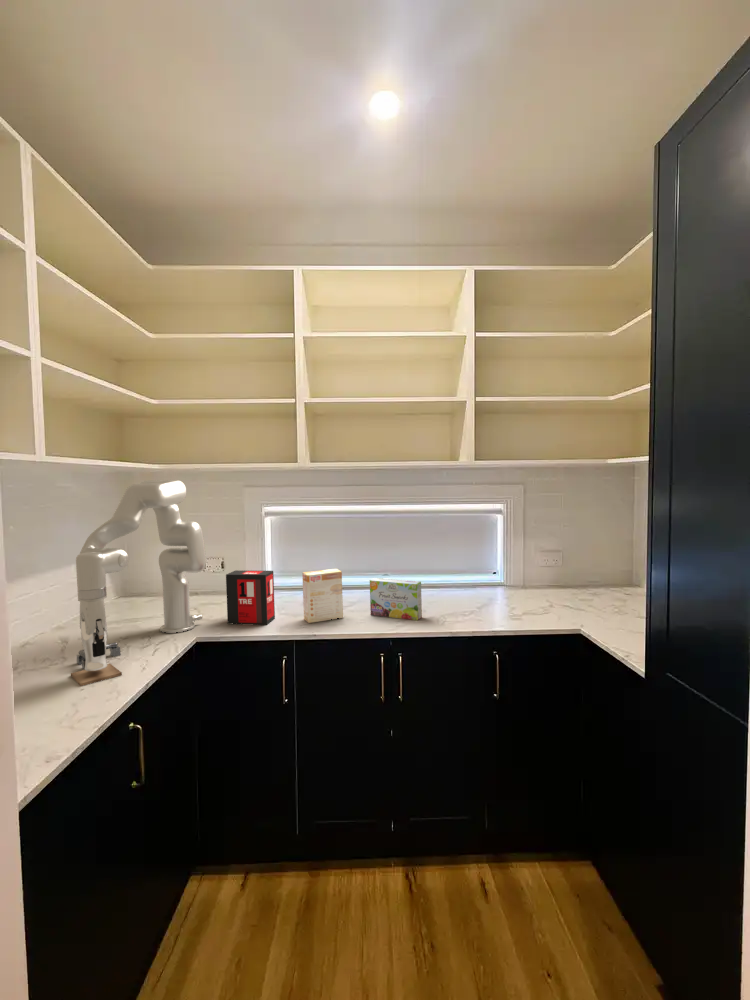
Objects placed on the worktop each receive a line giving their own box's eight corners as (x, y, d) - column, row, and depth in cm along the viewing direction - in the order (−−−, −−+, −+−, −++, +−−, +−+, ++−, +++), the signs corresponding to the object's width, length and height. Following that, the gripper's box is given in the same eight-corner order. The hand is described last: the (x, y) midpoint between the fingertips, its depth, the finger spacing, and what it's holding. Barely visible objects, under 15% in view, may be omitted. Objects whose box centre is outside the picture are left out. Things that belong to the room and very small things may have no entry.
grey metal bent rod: (118, 653, 173) (117, 640, 173) (126, 659, 167) (126, 646, 167) (76, 663, 165) (76, 650, 164) (84, 670, 159) (83, 656, 158)
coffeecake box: (337, 614, 216) (336, 568, 215) (343, 618, 210) (342, 571, 209) (303, 619, 210) (301, 571, 209) (308, 623, 203) (307, 574, 202)
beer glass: (113, 663, 158) (111, 615, 157) (102, 671, 151) (99, 621, 150) (90, 663, 157) (87, 615, 156) (78, 672, 150) (75, 622, 149)
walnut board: (110, 665, 162) (109, 663, 162) (121, 675, 154) (121, 672, 154) (70, 675, 154) (70, 673, 154) (80, 686, 146) (80, 683, 146)
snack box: (369, 615, 213) (368, 579, 212) (375, 612, 218) (374, 577, 217) (417, 621, 203) (417, 583, 203) (422, 617, 209) (421, 580, 208)
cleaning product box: (227, 624, 205) (225, 574, 204) (237, 617, 214) (235, 570, 213) (267, 625, 203) (265, 574, 202) (274, 618, 211) (273, 570, 210)
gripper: (70, 591, 156) (73, 649, 157) (86, 601, 144) (90, 663, 145) (97, 587, 162) (100, 643, 163) (115, 596, 149) (118, 656, 150)
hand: (95, 652), depth 154 cm, fingers closed on beer glass, 6 cm apart
